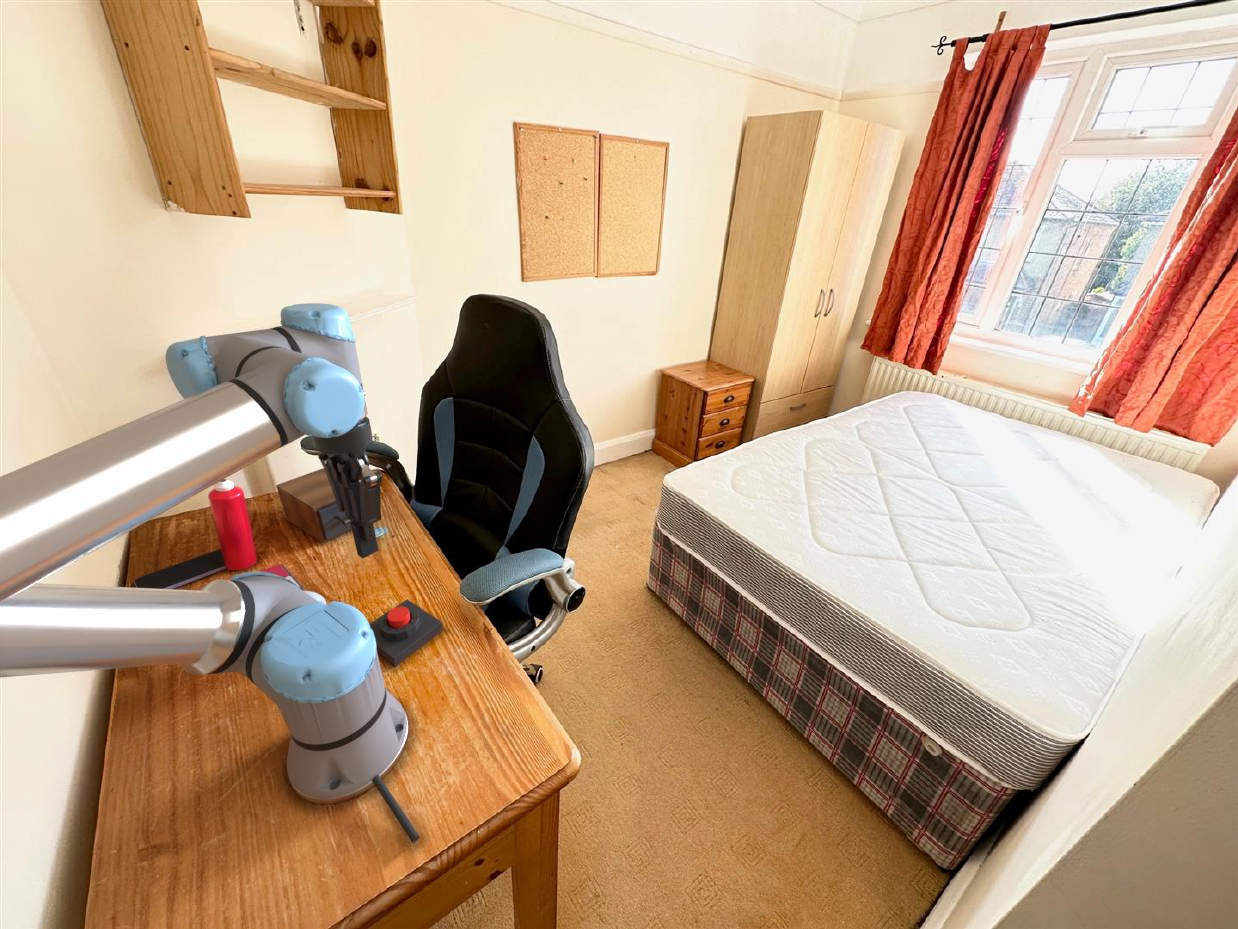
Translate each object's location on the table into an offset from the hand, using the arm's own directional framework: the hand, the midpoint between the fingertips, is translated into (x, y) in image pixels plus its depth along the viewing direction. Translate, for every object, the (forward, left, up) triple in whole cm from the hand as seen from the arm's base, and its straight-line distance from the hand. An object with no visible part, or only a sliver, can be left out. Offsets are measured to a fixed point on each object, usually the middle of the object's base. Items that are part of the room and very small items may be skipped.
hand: (368, 552), depth 78 cm
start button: (-2, -2, -16) cm, 16 cm away
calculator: (+26, +10, -19) cm, 34 cm away
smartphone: (+46, +13, -20) cm, 52 cm away
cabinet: (+43, -15, -19) cm, 49 cm away
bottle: (+42, +5, -19) cm, 46 cm away
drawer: (+39, -15, -18) cm, 46 cm away
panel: (-2, -2, -19) cm, 19 cm away
